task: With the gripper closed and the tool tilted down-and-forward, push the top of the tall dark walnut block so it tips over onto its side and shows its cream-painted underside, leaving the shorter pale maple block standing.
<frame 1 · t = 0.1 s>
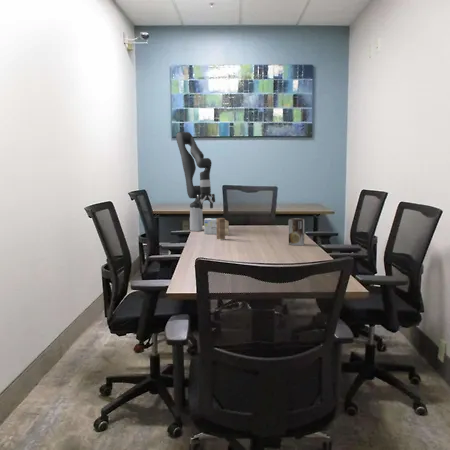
hand: (206, 208, 327), 17 cm above the table, tool pointing down, fingers open, 8 cm apart
walnut block: (220, 239, 302), on the table
maple block: (224, 235, 318), on the table
light bulb box: (212, 233, 325), on the table
coffee box: (296, 244, 282), on the table
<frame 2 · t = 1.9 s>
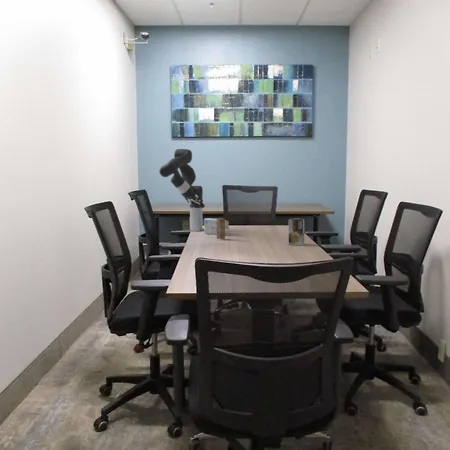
hand: (199, 206, 288), 23 cm above the table, tool tilted 45°, fingers open, 8 cm apart
nothing on the table moved.
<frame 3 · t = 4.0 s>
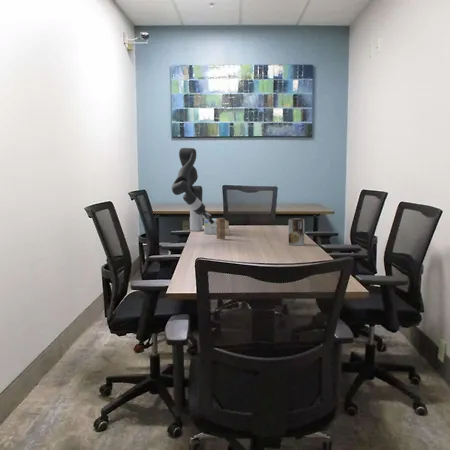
hand: (212, 222, 297), 12 cm above the table, tool tilted 45°, fingers closed
nothing on the table moved.
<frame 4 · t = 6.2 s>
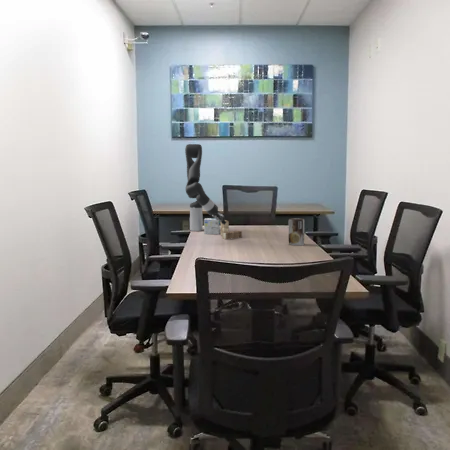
hand: (224, 223, 302), 10 cm above the table, tool tilted 45°, fingers closed
walnut block: (223, 236, 303), point 2 cm above the table, tilted 90°
everything else where it was.
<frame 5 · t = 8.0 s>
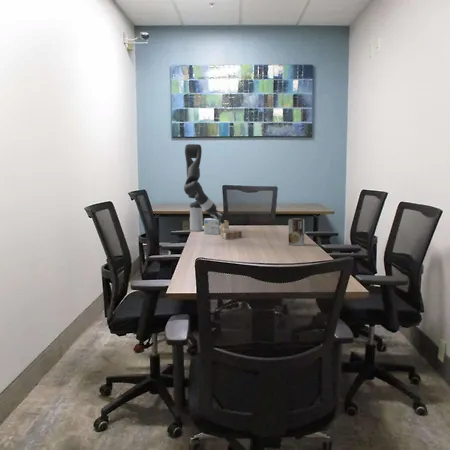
hand: (223, 222, 301), 11 cm above the table, tool tilted 45°, fingers closed
nothing on the table moved.
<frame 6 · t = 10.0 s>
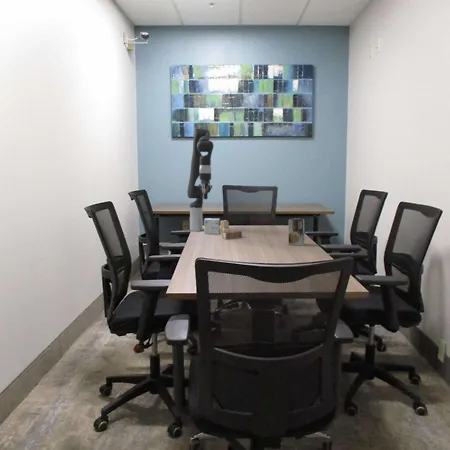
hand: (205, 199, 296), 27 cm above the table, tool pointing down, fingers closed
nothing on the table moved.
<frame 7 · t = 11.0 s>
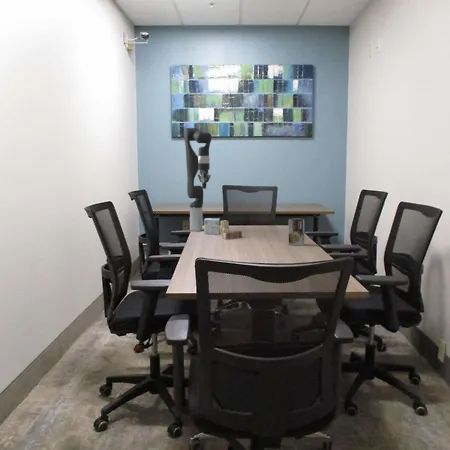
hand: (204, 188, 309), 33 cm above the table, tool pointing down, fingers closed
nothing on the table moved.
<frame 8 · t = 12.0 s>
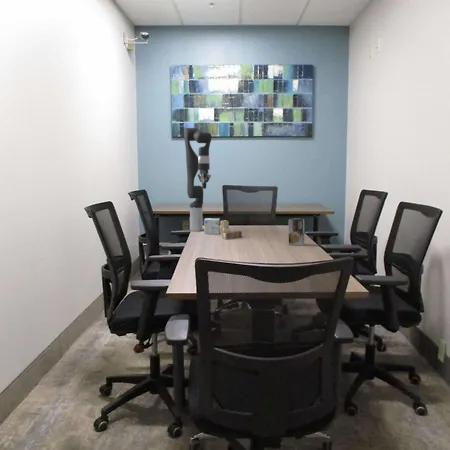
hand: (204, 188, 309), 33 cm above the table, tool pointing down, fingers closed
nothing on the table moved.
at the end: walnut block tilted 90°; walnut block inside the target area (3.9 cm from its centre), point 1.9 cm above the table; maple block tilted 0° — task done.
